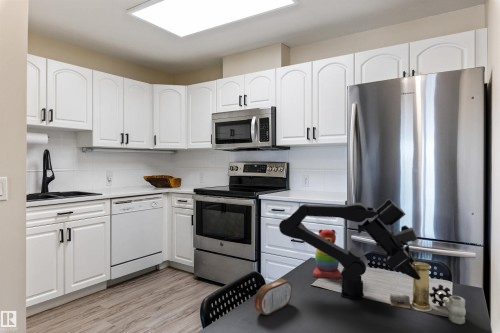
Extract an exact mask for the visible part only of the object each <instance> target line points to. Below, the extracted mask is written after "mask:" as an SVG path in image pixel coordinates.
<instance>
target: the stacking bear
mask: <svg viewBox="0 0 500 333" xmlns="http://www.w3.org/2000/svg"><path fill="white" fill-rule="evenodd" d="M318 235H319V236H321V237H323V238H324V239H326V240H328V241H330V242H332V243H334V244H335V243H336V240H337V236H336V230H335V229H319V230H318ZM314 256H315V258H314V259H315V263H316V268H315V269H314V270H313V272H312V275H313V277H314V278H320V279H321V278H329V279H334V280H340V279H342V276H341V272H342V271H340V269H339V264H340V263H339V261H337V260H336V259H334V258H332V257H331V256H329V255H327V254H325V253H324V252H322V251H320V250H318V249H317V248H315V255H314Z"/></svg>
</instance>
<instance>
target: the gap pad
mask: <svg viewBox="0 0 500 333" xmlns="http://www.w3.org/2000/svg"><path fill="white" fill-rule="evenodd" d="M409 305H410V308H412V309H413V310H416V311H420V312H431V311H432V310H433V307H432V306H431V305H430V309H427V310H422V309H418V308H415V307H413V306H412V301H411V302H409Z"/></svg>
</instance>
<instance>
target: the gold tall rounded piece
mask: <svg viewBox="0 0 500 333" xmlns="http://www.w3.org/2000/svg"><path fill="white" fill-rule="evenodd" d="M412 266H413V268H414V269H415V270H416V272H417V273H418V275H419V276H420V279H419V280H416V279H414V278H412V300H411V302H412V306H413V307H415V308H418V309H422V310H427V309H430V306H431V304H430V296H429V293H430V269H431V265H430V264H429V263H427V262H421V261H415V262H413V263H412Z"/></svg>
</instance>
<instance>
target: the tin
mask: <svg viewBox="0 0 500 333" xmlns="http://www.w3.org/2000/svg"><path fill="white" fill-rule="evenodd" d="M292 292H293V286H292V283H291V282H290V281H288V280H286V279H284V278H278V279H276V280H273V281H271V282H268V283H265V284H263V285H262V286H261V287H260V288H259V289H258V290H257V292H256V294H255V297H254V302H253V304H254V309H255V311H256V312H257V313H260V314H261V315H263V316H268V315H271V314H273V313H275V312H276V311H278V310H280V309H282V308H285V307H286V306H287V305H288V304H289V303H290V300H291V298H292V294H293V293H292Z"/></svg>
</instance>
